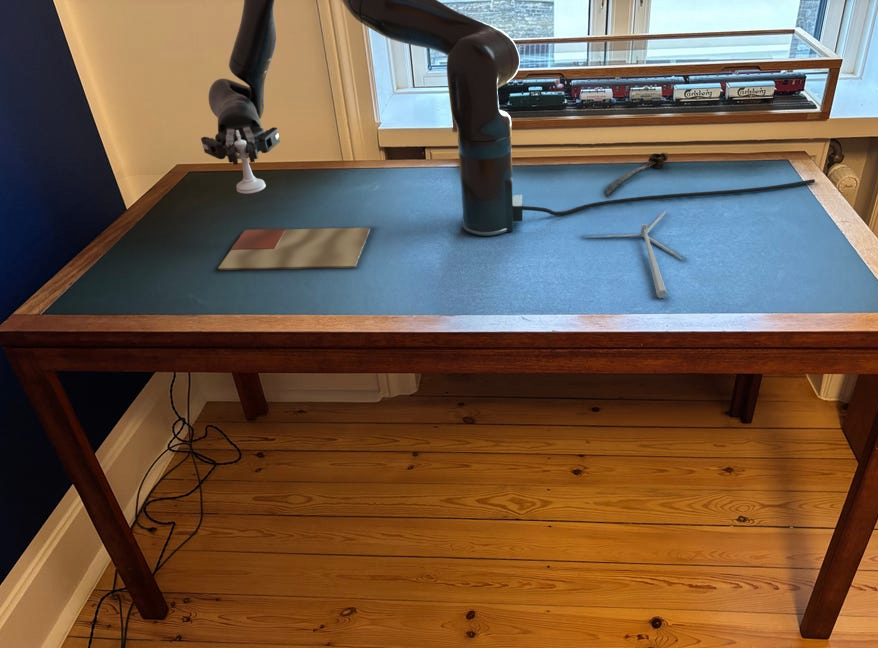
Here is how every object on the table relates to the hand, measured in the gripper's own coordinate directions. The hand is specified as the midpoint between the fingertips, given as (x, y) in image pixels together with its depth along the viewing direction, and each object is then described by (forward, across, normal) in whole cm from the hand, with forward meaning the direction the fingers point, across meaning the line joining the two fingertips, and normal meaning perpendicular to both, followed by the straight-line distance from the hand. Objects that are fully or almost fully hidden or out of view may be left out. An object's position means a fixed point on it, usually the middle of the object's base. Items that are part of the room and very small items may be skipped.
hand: (243, 157), depth 119 cm
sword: (-5, +76, +18) cm, 78 cm away
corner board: (+1, +6, +17) cm, 18 cm away
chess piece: (-3, 0, +7) cm, 7 cm away
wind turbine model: (+25, +60, +17) cm, 67 cm away
